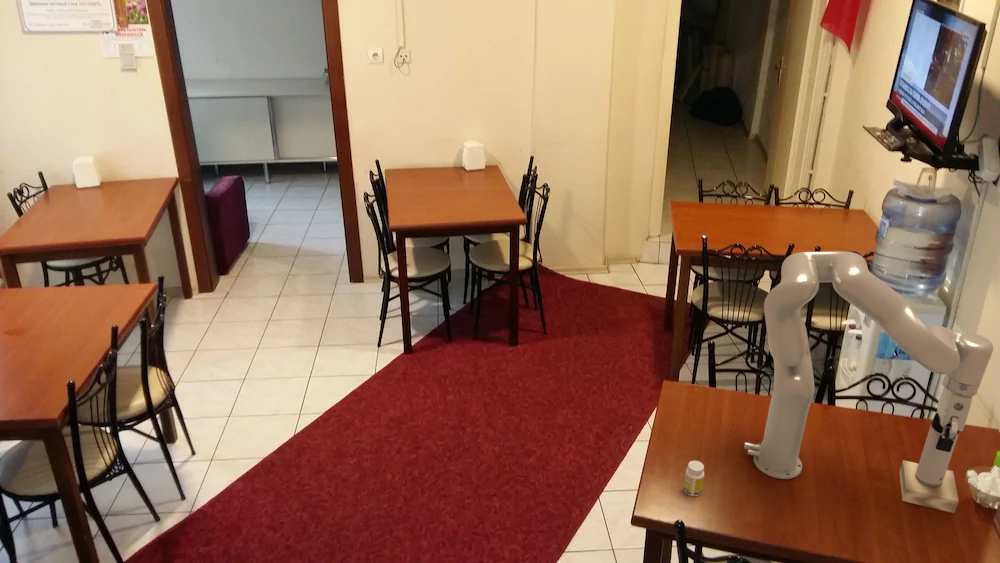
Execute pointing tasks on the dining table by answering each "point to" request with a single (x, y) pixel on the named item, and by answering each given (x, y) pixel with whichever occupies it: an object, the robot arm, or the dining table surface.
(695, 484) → the supplement bottle
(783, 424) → the robot arm
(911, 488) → the plinth
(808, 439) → the dining table surface
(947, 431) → the travel mug
